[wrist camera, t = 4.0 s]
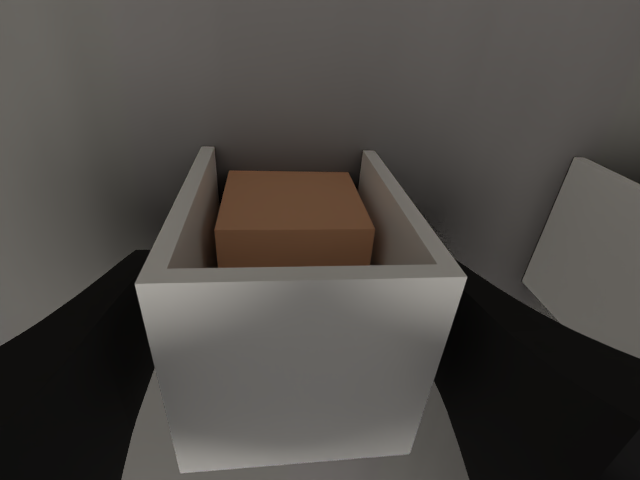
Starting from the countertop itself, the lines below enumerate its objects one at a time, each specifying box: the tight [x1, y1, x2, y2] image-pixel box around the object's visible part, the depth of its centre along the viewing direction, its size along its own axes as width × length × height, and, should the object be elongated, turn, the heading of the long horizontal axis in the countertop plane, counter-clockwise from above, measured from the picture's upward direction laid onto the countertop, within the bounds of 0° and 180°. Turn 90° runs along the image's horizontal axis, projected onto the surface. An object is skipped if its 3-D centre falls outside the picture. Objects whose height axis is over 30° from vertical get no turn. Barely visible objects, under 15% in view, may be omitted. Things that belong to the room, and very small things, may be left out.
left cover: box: [135, 146, 467, 473], centre depth 11 cm, size 6×6×7 cm
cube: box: [214, 171, 375, 268], centre depth 12 cm, size 4×4×4 cm
